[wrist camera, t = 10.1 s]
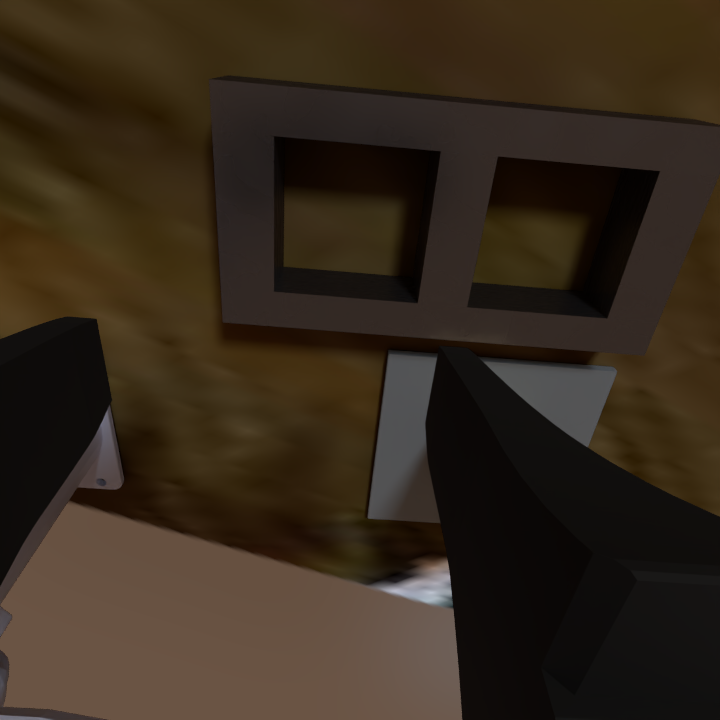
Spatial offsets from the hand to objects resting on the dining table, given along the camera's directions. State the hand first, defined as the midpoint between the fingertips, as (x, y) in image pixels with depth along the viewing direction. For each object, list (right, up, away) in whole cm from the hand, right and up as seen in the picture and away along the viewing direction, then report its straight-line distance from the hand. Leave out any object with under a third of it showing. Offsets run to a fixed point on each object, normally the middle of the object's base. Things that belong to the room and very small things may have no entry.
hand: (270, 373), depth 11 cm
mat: (+8, -4, +14) cm, 17 cm away
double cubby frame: (+5, +6, +9) cm, 12 cm away
